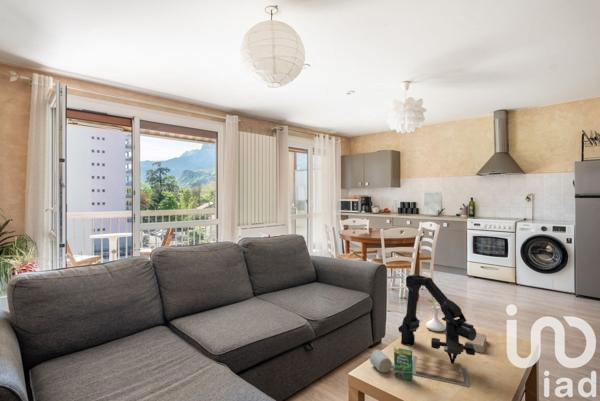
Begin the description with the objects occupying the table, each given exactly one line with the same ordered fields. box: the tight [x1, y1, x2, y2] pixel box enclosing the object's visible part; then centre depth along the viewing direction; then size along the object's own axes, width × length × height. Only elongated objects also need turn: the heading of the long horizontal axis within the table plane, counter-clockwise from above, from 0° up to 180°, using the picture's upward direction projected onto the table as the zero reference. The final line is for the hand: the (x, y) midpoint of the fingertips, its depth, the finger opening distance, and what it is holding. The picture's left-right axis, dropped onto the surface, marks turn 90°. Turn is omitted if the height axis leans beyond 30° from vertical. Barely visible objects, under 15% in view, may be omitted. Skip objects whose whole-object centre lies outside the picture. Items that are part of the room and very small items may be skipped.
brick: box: [465, 332, 487, 354], centre depth 171 cm, size 17×8×5 cm, turn 143°
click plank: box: [416, 354, 463, 372], centre depth 151 cm, size 20×7×1 cm, turn 66°
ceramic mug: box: [369, 349, 394, 374], centre depth 150 cm, size 11×8×8 cm
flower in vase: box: [425, 289, 446, 332], centre depth 192 cm, size 13×11×25 cm
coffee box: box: [393, 346, 414, 382], centre depth 142 cm, size 8×3×13 cm, turn 61°
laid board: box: [416, 363, 464, 384], centre depth 144 cm, size 20×7×1 cm, turn 66°
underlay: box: [412, 355, 470, 387], centre depth 148 cm, size 24×17×1 cm
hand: (452, 363), depth 150 cm, fingers closed, pressing on click plank
